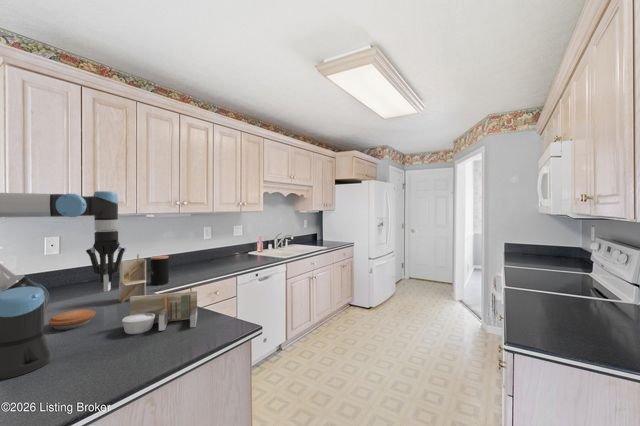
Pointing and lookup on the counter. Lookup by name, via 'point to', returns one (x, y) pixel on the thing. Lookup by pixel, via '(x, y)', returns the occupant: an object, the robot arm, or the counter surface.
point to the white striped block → (193, 317)
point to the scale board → (176, 305)
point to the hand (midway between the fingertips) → (107, 290)
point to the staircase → (132, 279)
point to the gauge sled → (163, 316)
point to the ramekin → (138, 323)
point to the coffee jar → (159, 270)
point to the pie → (71, 319)
